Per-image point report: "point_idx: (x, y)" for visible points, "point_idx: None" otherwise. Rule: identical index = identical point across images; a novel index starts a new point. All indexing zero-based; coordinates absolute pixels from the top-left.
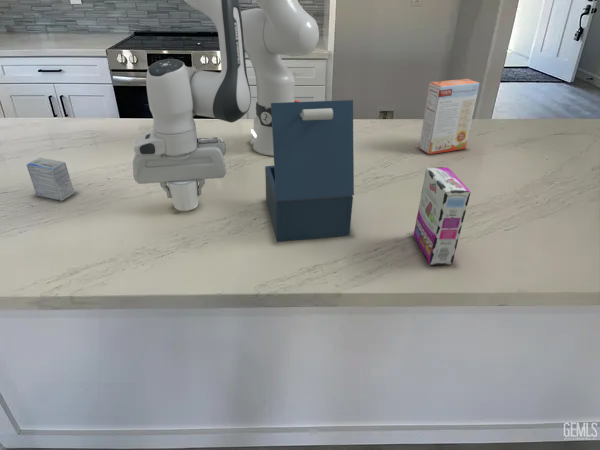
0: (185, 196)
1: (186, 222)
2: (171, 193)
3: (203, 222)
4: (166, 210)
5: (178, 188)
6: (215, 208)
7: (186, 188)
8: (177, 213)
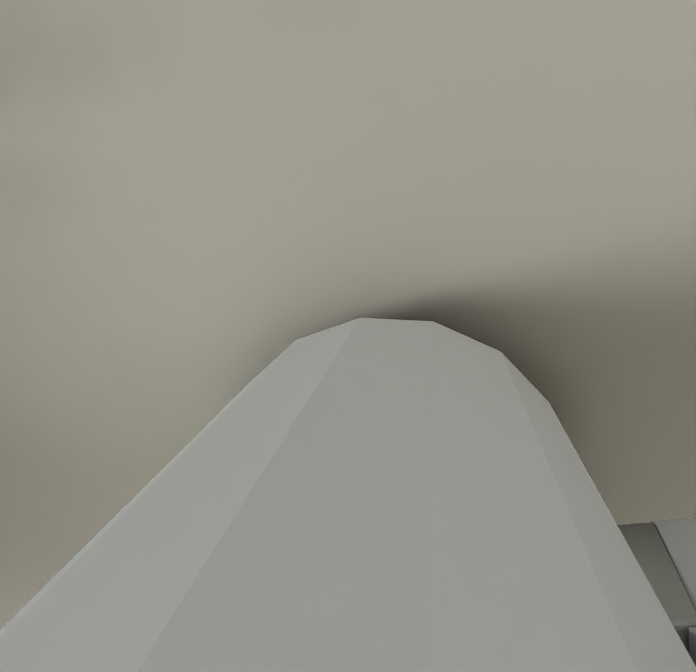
0: (260, 432)
1: (307, 39)
2: (625, 563)
3: (64, 52)
4: (673, 395)
5: (350, 587)
6: (45, 416)
7: (98, 583)
8: (495, 309)
